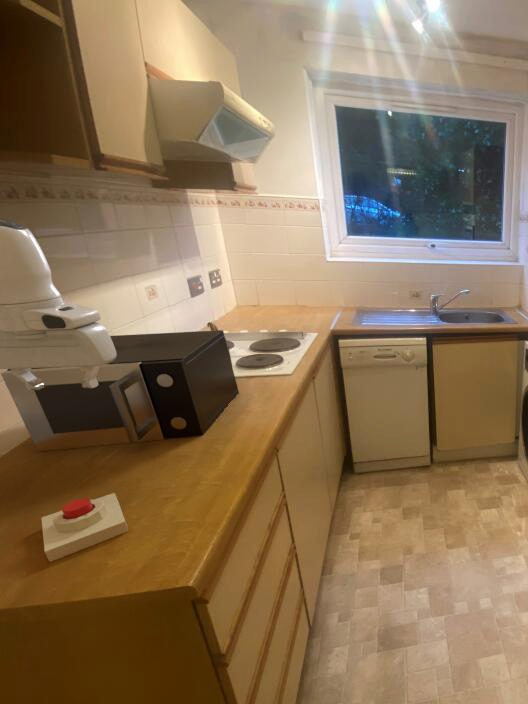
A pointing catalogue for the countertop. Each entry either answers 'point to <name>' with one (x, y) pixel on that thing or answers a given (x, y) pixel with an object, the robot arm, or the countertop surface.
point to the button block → (82, 528)
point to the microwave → (182, 376)
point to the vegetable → (214, 328)
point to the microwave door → (87, 407)
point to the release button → (77, 508)
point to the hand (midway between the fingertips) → (64, 388)
